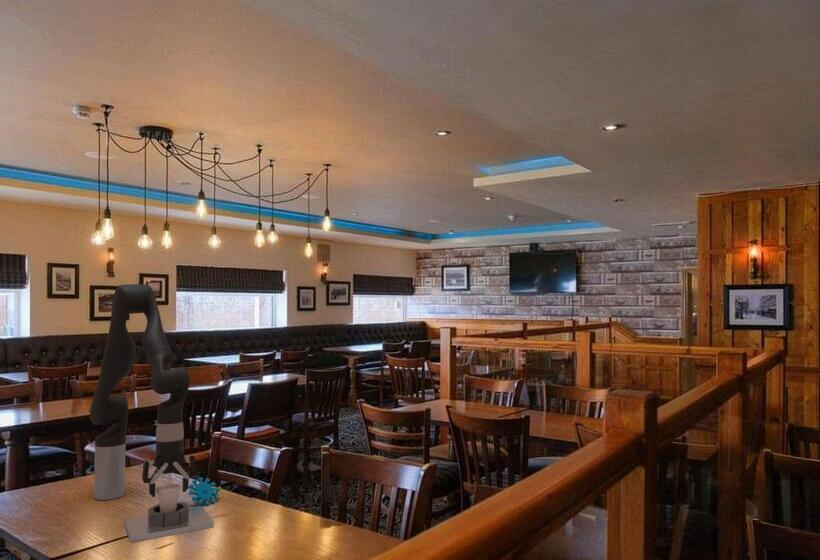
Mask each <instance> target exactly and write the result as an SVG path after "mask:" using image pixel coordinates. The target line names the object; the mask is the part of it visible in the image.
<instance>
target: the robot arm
mask: <svg viewBox="0 0 820 560" xmlns="http://www.w3.org/2000/svg"><path fill="white" fill-rule="evenodd" d="M155 295H156V294H155V293H154V290H153V288H152V287H151V285H149V284H146V283H135V284H134V283H130V284H119V285H117V287H116V289H115V291H114V293H113V296H112V304H111V315H110V322H109V328H108V329H109V330H108V333H107V338H106V342H105V346H104V350H103V357H102V359H101V360H102V361H101V367H100V372H99V377H98V380H97V381H98V382H97V385H96V387H95V391H94V393H93V394H94V395H93V397H92V399H91V404H90V410H89V417H90V418H89V419H90V422H91V423H92V424H93V425H96V426H102V425H110V424H112V425H111V427H110V428H109V429H107V430H106V431H104V432H102V433H100V434H98V435H96V437H95V439H94V476H93V479H94V480H93V481H94V482H93V498H94V499H95V500H98V501H108V500H115V499H118V498H121V497H123V496H125V492H126V490H125V489H126V488H125V487H126V447H127V446H126V441H127V439H126V437H127V433H128V429H127V428H128V418H129V417H128V416H129V403H128V402H129V401H128V399H127V397H126V396H125V395H123V394H115V395H111V393H112V391H113V390H114V388H116V386H118V385H119V383H120V382H121V381H122V380H123V379H124V378H126V376H127V375H128V374H129V373H130V371H131V370H132V368H133V367H134V363H135V358H136V354H137V346H136V343H135V341H134V338H132V336H131V334H130V332H129V330H128V328H127V318H128V316H129V315H134V314H135V315H136V314H144V316H145V318H146V327H145V330H144V332H143V335H142V341H141V342H142V343H141V344H142V349H143V351H144V354H145V357H146V358H147V362H148V365H149V374H150V375H149V377H150V386H151V388H152V390H153V391H154V392H155V393H156V394H158V395H167V394H168V395H169V394H170V396H169V398H168V399H167V400H165V401H162V402H159V404H158V405H157V410H156V414H157V415H156V421H157V422H156V428H155V455H154V459H152V460H148V459H144V460H143V462H142V474H141V475H142V476H141V481H142V482H143V484H148V494H149V495H150V496H151V497H152V498H155V497H156V481H157V480H158V479H159V478H160V477H161V475H162V474H163V475H169V473H171V474H174V473H176V472H179V473H180V475H182V476H183V477H182V478H181V479H182V481H181V482H182V483H181V484H182V485H181V486H182V487H181V488H182V489H181V491H182V492H183V493H185V492H186V493H187V491H188V490H189V489H190V488H189V486H190V485H189V481H190V478H192V477H194V476H196V462H195V461H196V459H195V455H194V454H192V453H189V455H185V456H184V437H185V433H184V421H183V420H184V419H183V418H184V417H183V416H184V407H185V406H184V405H185V402H186V399H187V394H188V391H189V387H190V382H191V379H190V374H189V373H188V371H187V370H186V369H184V368H180V367H178V368H169V369H167V367H169V366H170V365H172V364H173V362H174V359H175V357H174V354H173V351H172V348H171V347H170V345H169V342H168V340H167V337H166V335H165V332H164V327H163V324H162V319H161V315H160V310H159V307H158V306H159V305H158V303H157V302H158V301H157V298H156V296H155ZM165 368H166V369H165ZM185 461H186V463H188V470H189V471H188V472H186V471H185V469H184V468H183V467H182V465H183V463H184V462H185ZM153 465H154V466H155V467H156V468H155V470H154V471H153V473H152V475H151V476H150V477H149V471H150V469H151V468H152V466H153Z"/></svg>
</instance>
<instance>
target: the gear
mask: <svg viewBox="0 0 820 560" xmlns="http://www.w3.org/2000/svg"><path fill="white" fill-rule="evenodd" d="M203 480H204V478H203V477H200V476H199V477H198V478H196V479H195V478H194V479H193V480H192V481H191V482H192V483H190V485H189V488H188V489H190V490H189V491H188V495H189V496H192V495H193V496H192V497H191V500H192V502H195V501H196V502H197V505H198V506H202V504H204V506H205V507H206V506H207V507H208V506H210V504H215V503H216V500H217V499H218V497H219V496H220V494H218V492H220V491H221V490H222V486H218V487H215V486H216V482H215V481H212V482H211V483H209V482H210V481H211V480H210V478H208V477H206V478H205V480H204V482H202V481H203ZM197 482H198V483H197ZM209 500H210V501H209ZM204 501H205V502H204ZM203 502H204V503H203Z"/></svg>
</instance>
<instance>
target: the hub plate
mask: <svg viewBox="0 0 820 560" xmlns="http://www.w3.org/2000/svg"><path fill="white" fill-rule="evenodd" d="M214 521H215V520H213V518H212V517H211V516H210V515H209V514H208V512H207V511H206V510H205V508H204V507H203V506H202V505H197V506H192V507H189V505H188V504H187V502H179V501H177V508H176V511H175V512H169V513H160V506H159V503H157V504H156V505H153V506H151V507H150V508H148V511H147V514H144V515H143V514H142V515H139V516H138V515H137V516H133V517H127V518H123V521H122V522H123V527H124V529H125V532H126V534H127V538H128V539H129V542H130V544H131V543H136V542H141V541H147V540H152V539H157V538H164V537H168V536H173V535H179V534H183V533H184V534H185V533H188V532H195V531H199V530H200V531H201V530H206V529H209V528H214V527H215V522H214Z"/></svg>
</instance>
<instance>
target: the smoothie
mask: <svg viewBox="0 0 820 560" xmlns="http://www.w3.org/2000/svg"><path fill="white" fill-rule="evenodd" d="M180 489H181V485H180V484H179V483H175V482H174V483H172V473H168V483H164V484H161V485H159V486H157V487H156V493H157V496H158V504H159V506H160V513H169V512H175V511H176V508H177V502H178V499H179V493H180Z"/></svg>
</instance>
